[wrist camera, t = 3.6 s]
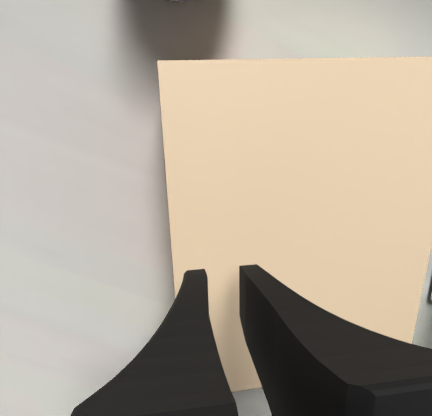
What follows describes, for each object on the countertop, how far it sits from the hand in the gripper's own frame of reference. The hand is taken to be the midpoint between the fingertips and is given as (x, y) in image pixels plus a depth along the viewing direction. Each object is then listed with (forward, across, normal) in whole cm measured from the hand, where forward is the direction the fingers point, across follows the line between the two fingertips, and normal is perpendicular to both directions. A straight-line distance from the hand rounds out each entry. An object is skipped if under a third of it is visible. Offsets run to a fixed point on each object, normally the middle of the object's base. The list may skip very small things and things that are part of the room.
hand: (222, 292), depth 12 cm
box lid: (+3, -4, 0) cm, 5 cm away
